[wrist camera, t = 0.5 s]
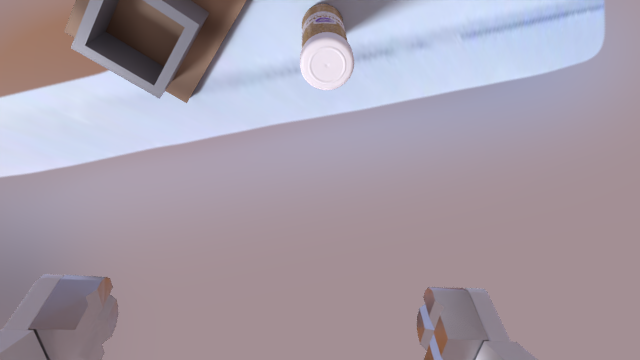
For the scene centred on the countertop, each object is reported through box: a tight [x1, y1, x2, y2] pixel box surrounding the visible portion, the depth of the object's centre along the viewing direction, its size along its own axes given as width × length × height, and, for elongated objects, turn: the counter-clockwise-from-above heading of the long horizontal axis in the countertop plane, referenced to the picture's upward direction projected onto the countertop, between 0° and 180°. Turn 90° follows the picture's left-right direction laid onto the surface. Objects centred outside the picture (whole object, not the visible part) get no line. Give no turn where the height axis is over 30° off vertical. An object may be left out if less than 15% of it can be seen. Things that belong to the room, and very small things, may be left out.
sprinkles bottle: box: [300, 4, 354, 90], centre depth 40 cm, size 5×5×13 cm
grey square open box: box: [71, 0, 209, 99], centre depth 42 cm, size 9×9×5 cm
